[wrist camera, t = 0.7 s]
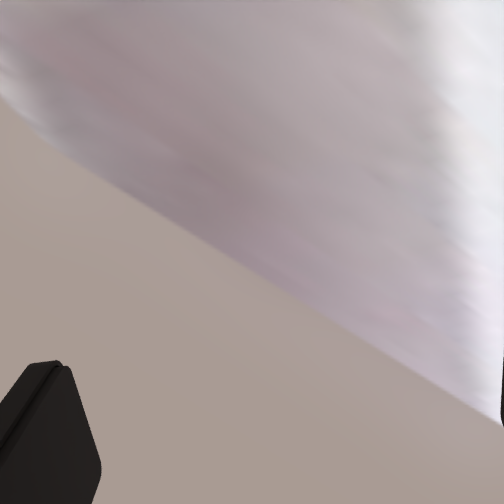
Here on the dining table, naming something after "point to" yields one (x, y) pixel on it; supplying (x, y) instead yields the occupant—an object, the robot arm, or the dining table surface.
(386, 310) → the dining table surface
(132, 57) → the dining table surface
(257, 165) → the dining table surface
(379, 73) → the dining table surface
